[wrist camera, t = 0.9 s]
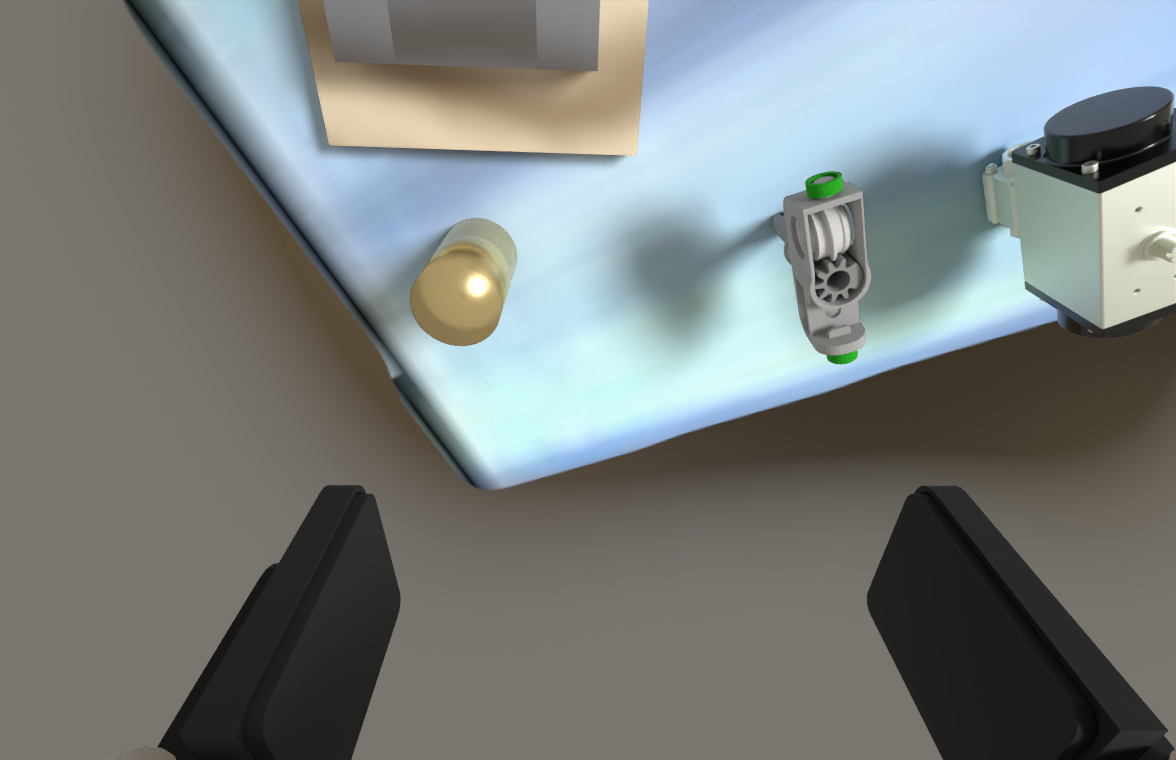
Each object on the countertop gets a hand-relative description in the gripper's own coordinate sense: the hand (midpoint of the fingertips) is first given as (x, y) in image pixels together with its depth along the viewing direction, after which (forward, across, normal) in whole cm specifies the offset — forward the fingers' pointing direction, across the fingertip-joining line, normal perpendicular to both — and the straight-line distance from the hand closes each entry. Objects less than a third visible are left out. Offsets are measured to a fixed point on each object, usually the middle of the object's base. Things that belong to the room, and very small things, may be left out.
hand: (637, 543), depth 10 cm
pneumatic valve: (+29, -26, -1) cm, 39 cm away
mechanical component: (+29, -12, +2) cm, 32 cm away
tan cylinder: (+30, +8, +5) cm, 31 cm away
